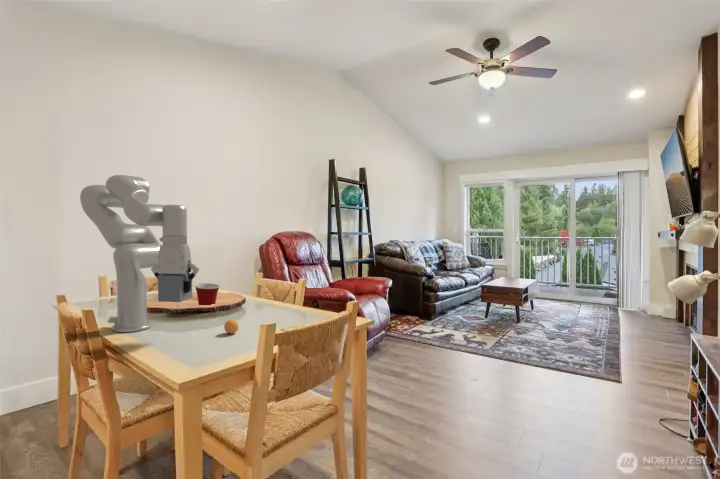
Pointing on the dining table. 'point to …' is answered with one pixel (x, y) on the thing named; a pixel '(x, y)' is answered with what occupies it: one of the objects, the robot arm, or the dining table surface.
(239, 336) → the dining table surface
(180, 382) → the dining table surface
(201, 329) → the dining table surface
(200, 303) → the plastic cup
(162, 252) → the robot arm
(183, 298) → the grey matte cube
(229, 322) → the ball
